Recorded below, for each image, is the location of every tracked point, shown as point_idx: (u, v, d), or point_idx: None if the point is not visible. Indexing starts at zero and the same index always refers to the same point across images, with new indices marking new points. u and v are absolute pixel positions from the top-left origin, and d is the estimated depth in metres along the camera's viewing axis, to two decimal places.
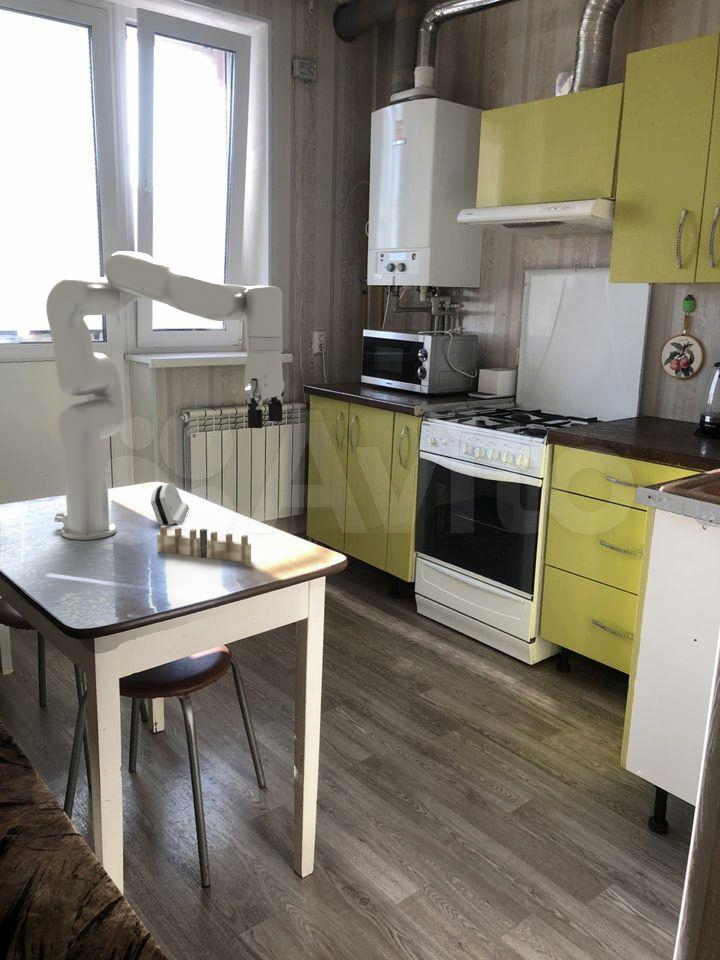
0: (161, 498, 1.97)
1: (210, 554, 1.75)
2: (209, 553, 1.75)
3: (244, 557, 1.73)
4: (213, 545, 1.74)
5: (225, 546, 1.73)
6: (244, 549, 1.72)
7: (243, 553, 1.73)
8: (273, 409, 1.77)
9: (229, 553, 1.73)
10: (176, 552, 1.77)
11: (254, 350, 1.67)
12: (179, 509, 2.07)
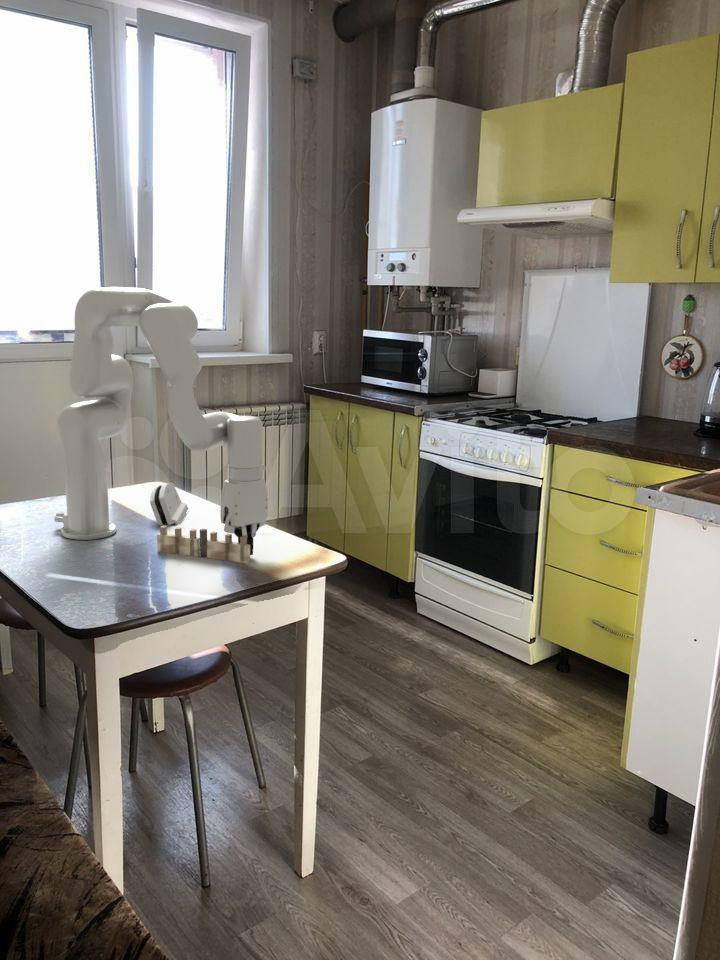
0: (160, 498, 1.97)
1: (209, 554, 1.75)
2: (209, 553, 1.75)
3: (243, 558, 1.72)
4: (213, 545, 1.74)
5: (224, 546, 1.73)
6: (243, 550, 1.72)
7: (242, 554, 1.72)
8: None
9: (228, 553, 1.73)
10: (176, 552, 1.77)
11: (229, 479, 1.70)
12: (178, 509, 2.07)
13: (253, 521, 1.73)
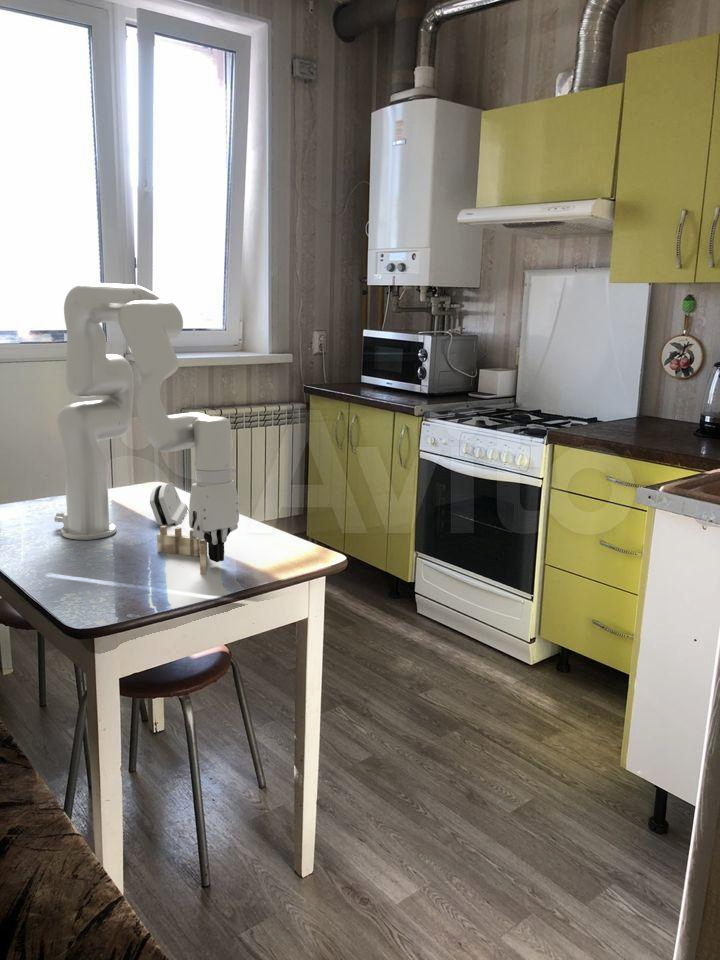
0: (160, 498, 1.97)
1: None
2: None
3: None
4: None
5: None
6: None
7: None
8: None
9: None
10: (176, 552, 1.77)
11: (197, 482, 1.64)
12: (178, 509, 2.07)
13: (223, 525, 1.67)
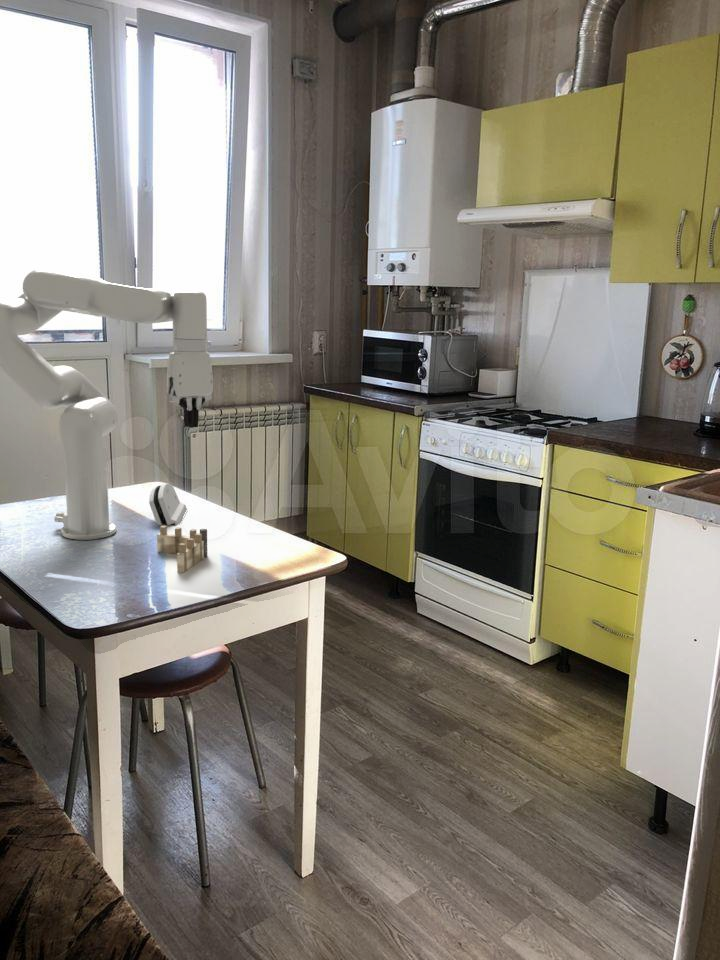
0: (159, 498, 1.97)
1: None
2: None
3: None
4: None
5: None
6: None
7: None
8: None
9: None
10: (176, 552, 1.77)
11: (174, 350, 1.78)
12: (177, 509, 2.07)
13: (198, 393, 1.81)
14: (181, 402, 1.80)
